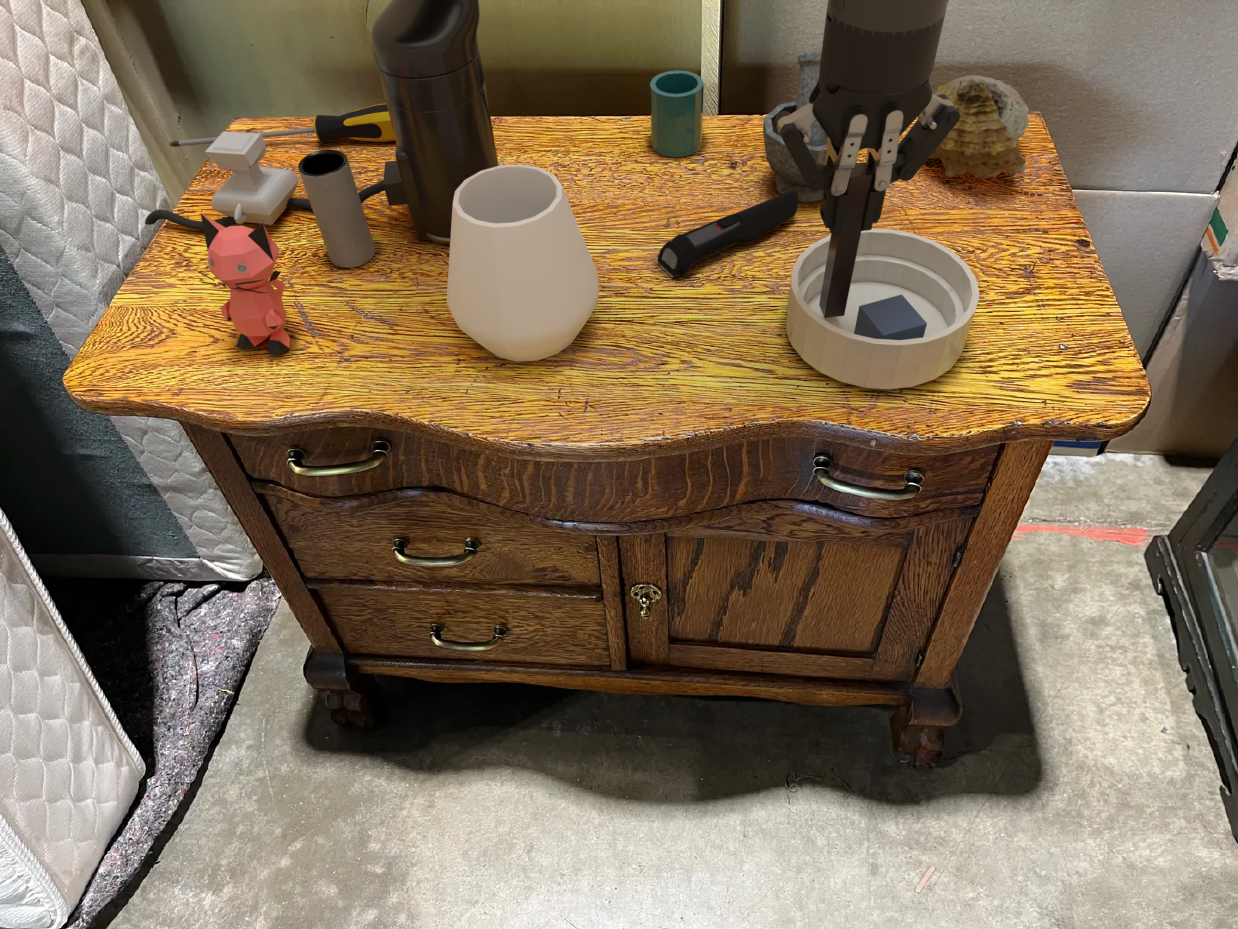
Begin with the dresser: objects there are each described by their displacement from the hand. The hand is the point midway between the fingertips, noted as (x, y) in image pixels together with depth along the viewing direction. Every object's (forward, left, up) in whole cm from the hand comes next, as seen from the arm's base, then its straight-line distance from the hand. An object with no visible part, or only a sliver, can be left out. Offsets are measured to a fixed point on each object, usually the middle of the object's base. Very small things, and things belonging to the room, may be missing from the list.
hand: (847, 225), depth 72 cm
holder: (-8, +33, -11) cm, 36 cm away
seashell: (+24, +22, -3) cm, 33 cm away
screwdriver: (-36, +40, -9) cm, 55 cm away
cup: (-26, +5, -11) cm, 29 cm away
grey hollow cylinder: (-43, +19, -11) cm, 49 cm away
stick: (0, 0, -9) cm, 9 cm away
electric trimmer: (-6, +14, -11) cm, 19 cm away
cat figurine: (-50, +7, -11) cm, 52 cm away
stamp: (-53, +28, -11) cm, 61 cm away
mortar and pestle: (+4, +23, -11) cm, 26 cm away
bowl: (+4, -1, -11) cm, 11 cm away
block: (+4, -4, -10) cm, 12 cm away
